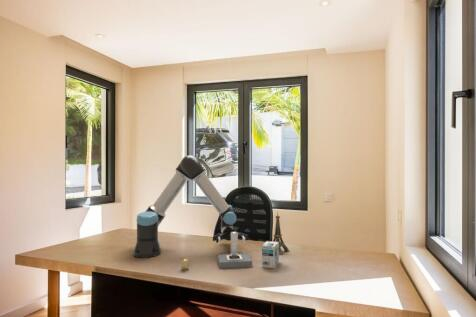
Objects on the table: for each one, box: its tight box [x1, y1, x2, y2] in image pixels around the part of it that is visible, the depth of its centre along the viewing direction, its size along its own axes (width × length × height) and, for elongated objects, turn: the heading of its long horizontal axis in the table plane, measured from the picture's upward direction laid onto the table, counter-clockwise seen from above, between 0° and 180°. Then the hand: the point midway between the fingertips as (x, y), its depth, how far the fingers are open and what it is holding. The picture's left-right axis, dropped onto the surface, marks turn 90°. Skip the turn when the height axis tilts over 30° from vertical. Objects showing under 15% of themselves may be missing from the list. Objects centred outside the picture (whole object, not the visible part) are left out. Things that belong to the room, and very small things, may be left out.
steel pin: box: [230, 231, 239, 259], centre depth 163 cm, size 4×4×16 cm
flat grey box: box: [217, 252, 253, 270], centre depth 163 cm, size 16×14×3 cm
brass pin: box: [180, 258, 190, 272], centre depth 154 cm, size 4×4×5 cm
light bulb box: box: [261, 240, 280, 269], centre depth 161 cm, size 11×7×11 cm, turn 161°
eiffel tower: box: [272, 211, 290, 256], centre depth 185 cm, size 11×11×25 cm
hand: (232, 241), depth 172 cm, fingers open, 13 cm apart
